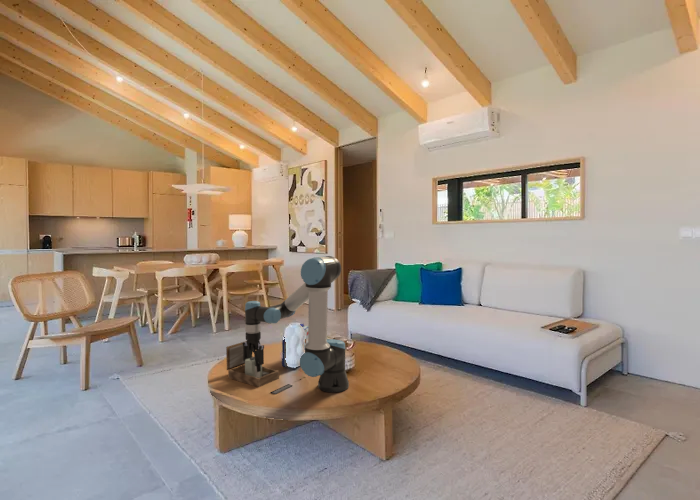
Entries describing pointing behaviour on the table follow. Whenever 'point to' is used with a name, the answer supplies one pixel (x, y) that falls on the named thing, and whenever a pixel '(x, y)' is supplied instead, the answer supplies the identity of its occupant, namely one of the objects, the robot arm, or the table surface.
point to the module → (251, 367)
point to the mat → (281, 389)
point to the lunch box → (285, 345)
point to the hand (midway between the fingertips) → (253, 376)
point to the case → (238, 373)
